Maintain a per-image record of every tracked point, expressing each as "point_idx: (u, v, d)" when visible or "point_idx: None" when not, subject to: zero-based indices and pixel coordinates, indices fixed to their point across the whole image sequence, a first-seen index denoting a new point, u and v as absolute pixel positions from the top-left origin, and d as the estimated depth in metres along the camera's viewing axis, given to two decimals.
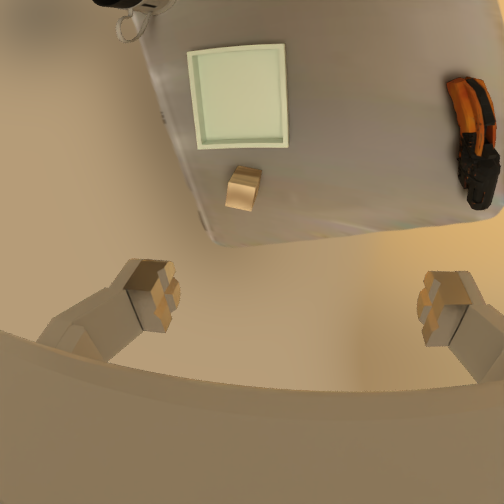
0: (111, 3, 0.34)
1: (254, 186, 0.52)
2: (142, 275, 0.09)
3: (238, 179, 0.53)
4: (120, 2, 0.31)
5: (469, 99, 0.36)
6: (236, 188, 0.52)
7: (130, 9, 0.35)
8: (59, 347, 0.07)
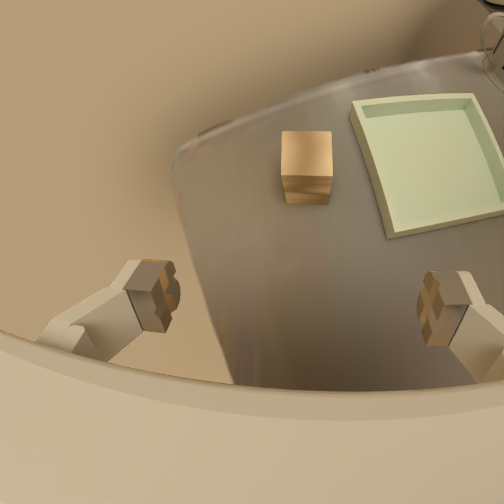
0: None
1: (332, 175, 0.27)
2: (142, 275, 0.09)
3: None
4: None
5: None
6: (322, 145, 0.27)
7: None
8: (59, 347, 0.07)
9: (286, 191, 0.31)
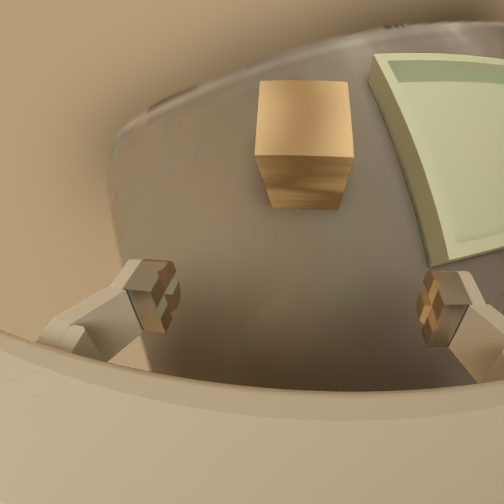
0: None
1: None
2: (142, 275, 0.09)
3: None
4: None
5: None
6: (332, 102, 0.14)
7: None
8: (59, 347, 0.07)
9: (269, 187, 0.18)
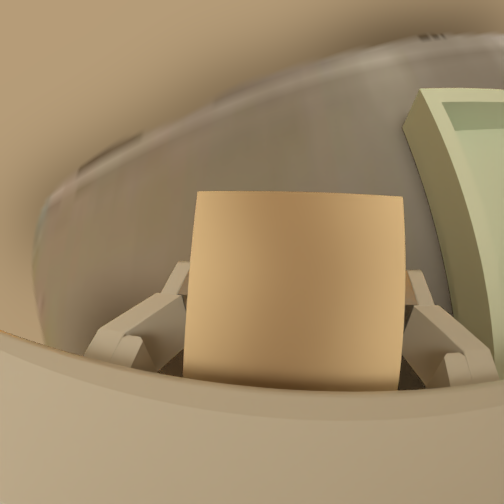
0: None
1: None
2: None
3: None
4: None
5: None
6: (366, 262, 0.06)
7: None
8: (114, 361, 0.06)
9: None
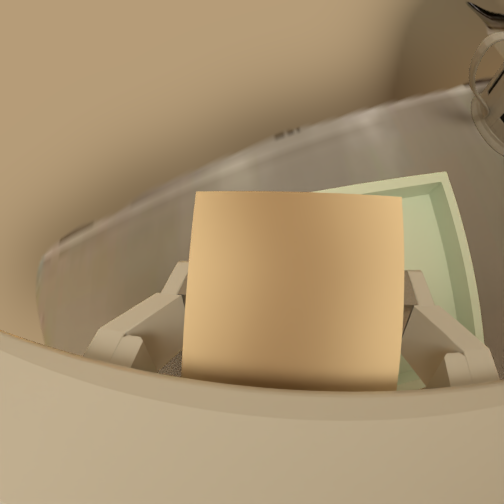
0: None
1: None
2: None
3: None
4: None
5: None
6: (365, 263, 0.06)
7: None
8: (114, 361, 0.06)
9: None
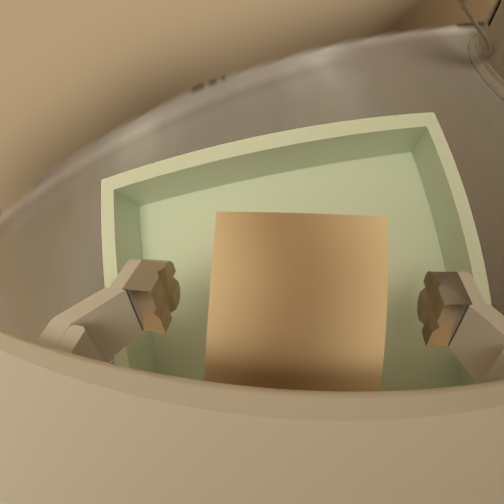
0: None
1: None
2: (142, 275, 0.09)
3: None
4: None
5: None
6: (355, 271, 0.08)
7: None
8: (59, 347, 0.07)
9: None
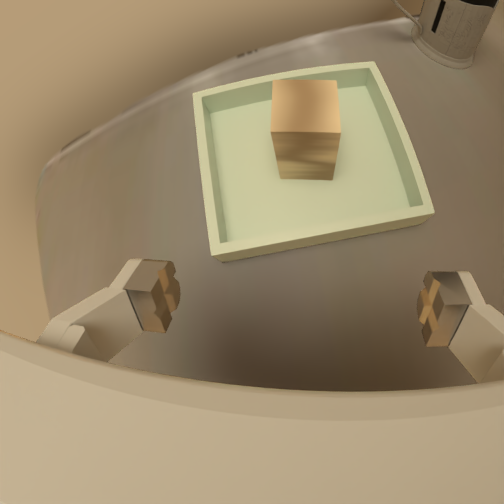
0: None
1: None
2: (142, 275, 0.09)
3: None
4: None
5: None
6: (325, 95, 0.20)
7: None
8: (59, 347, 0.07)
9: (279, 159, 0.24)
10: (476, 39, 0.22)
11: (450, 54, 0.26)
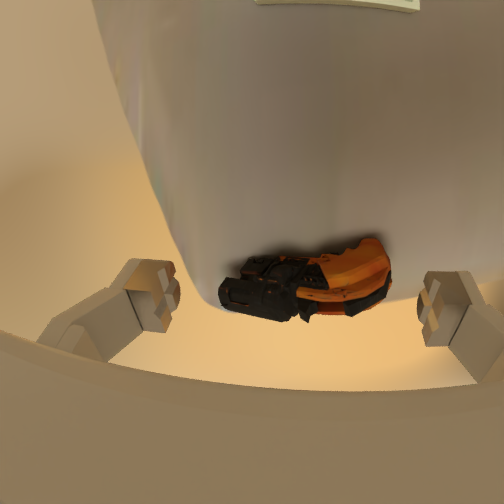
0: None
1: None
2: (142, 275, 0.09)
3: None
4: None
5: (370, 277, 0.38)
6: None
7: None
8: (59, 347, 0.07)
9: None
10: None
11: None
